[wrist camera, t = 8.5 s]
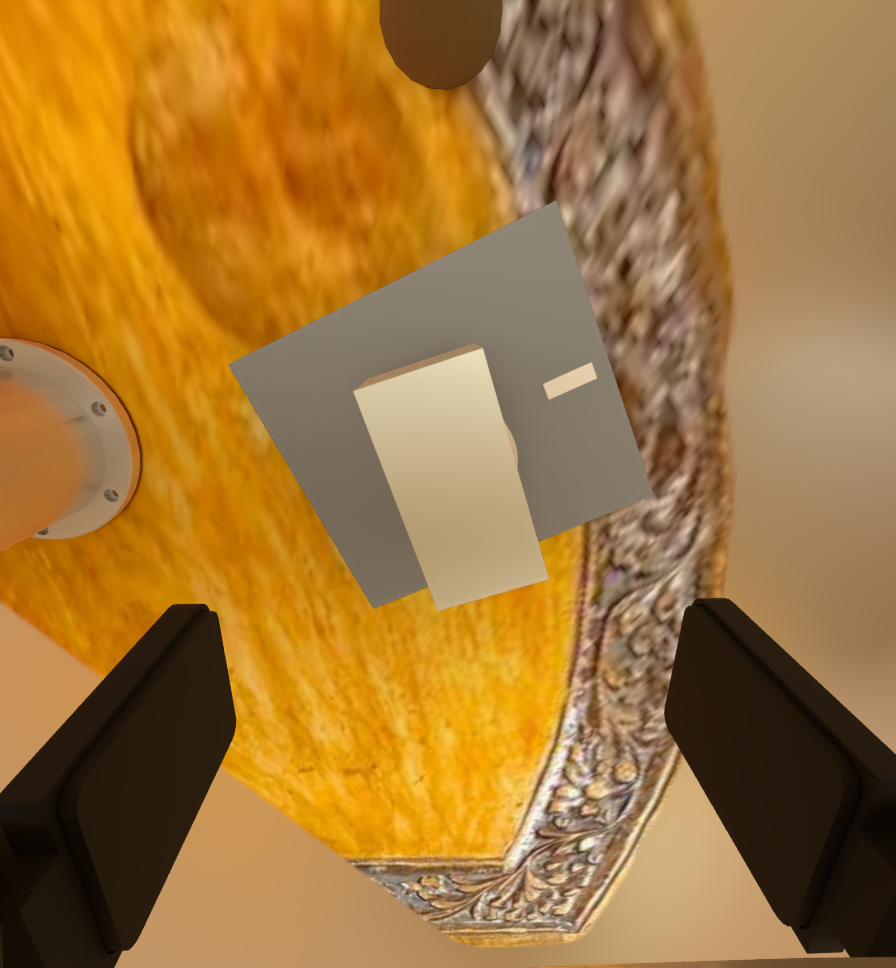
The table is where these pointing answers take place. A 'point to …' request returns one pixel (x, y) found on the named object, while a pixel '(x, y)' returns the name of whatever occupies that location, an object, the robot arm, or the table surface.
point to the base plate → (514, 372)
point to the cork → (441, 38)
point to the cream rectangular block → (454, 475)
